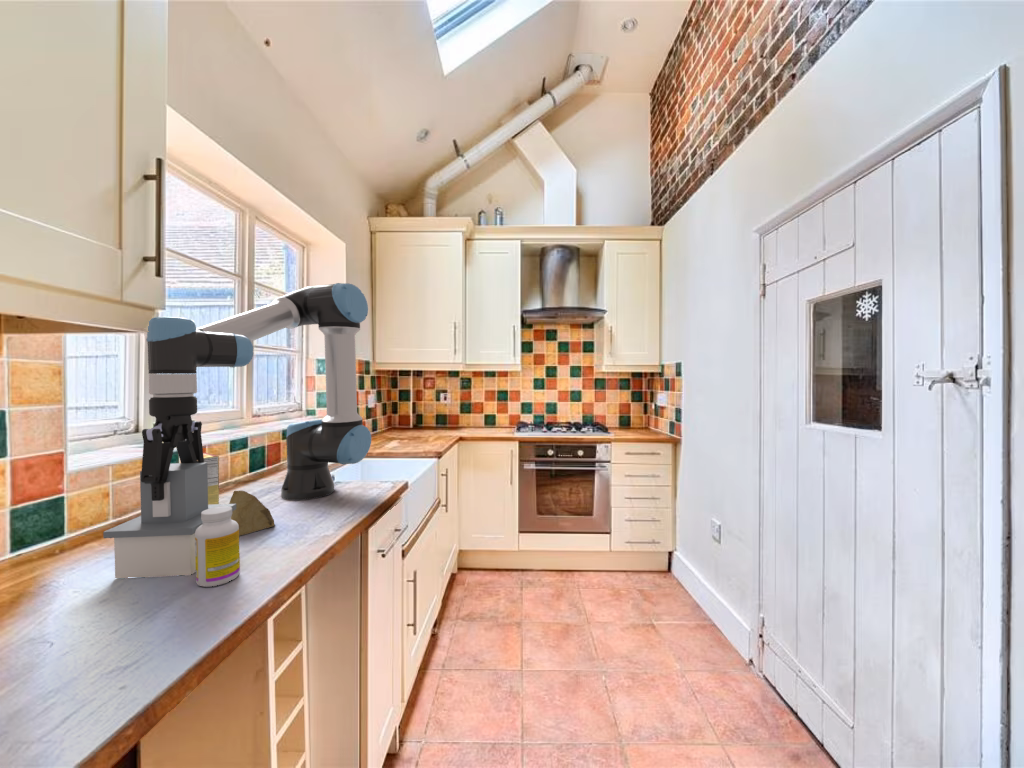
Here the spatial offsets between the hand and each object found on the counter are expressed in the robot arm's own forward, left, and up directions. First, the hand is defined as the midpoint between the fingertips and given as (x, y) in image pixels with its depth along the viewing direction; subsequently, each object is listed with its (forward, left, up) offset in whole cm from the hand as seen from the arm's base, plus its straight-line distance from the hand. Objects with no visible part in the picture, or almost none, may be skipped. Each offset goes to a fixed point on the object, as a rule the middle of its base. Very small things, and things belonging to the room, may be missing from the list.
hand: (176, 509), depth 85 cm
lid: (0, 0, -3) cm, 3 cm away
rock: (-16, +6, -11) cm, 20 cm away
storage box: (0, 0, -11) cm, 11 cm away
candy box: (-35, -15, -11) cm, 40 cm away
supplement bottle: (+9, +13, -11) cm, 19 cm away
